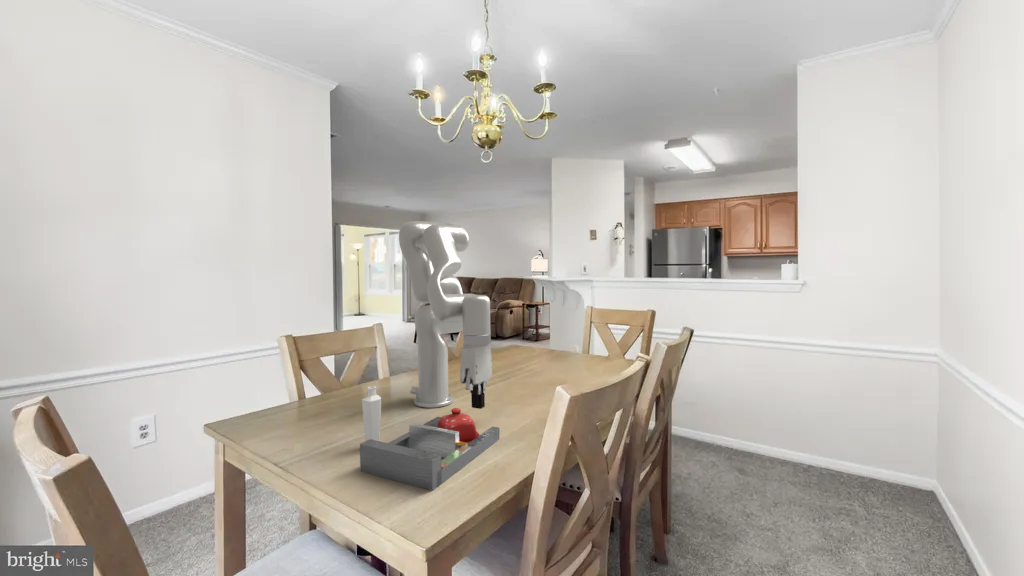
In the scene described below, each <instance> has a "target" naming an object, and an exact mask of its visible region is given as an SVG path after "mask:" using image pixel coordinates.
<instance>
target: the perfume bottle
mask: <svg viewBox="0 0 1024 576" xmlns="http://www.w3.org/2000/svg"><path fill="white" fill-rule="evenodd" d="M366 389H367V395H366V396H365V397H363V398H362V399H361V409H362V417H363V427H364V438H365V441H367V440H369V439H372V440H376V441H380V438H381V437H380V433H381V416H382V415H381V414H382V412H381V411H382V397H381V395H378V394H377V386H376V385H370V386H368V387H367V388H366Z"/></svg>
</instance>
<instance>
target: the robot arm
mask: <svg viewBox="0 0 1024 576" xmlns="http://www.w3.org/2000/svg"><path fill="white" fill-rule="evenodd" d="M398 241H399V244H398V245H399V248H400V250H401V253H402V256H403V258H404V259H405V262H406V264H407V267H408V271H409V272H408V273H409V276H410V283H411V285H412V287H411V288H412V291H413V296H414V298H415V300H416V301H417V302H418V303H422V304H428V305H423V306H421V307H419V308H418V309H417V310H416V311H415V313H414V325H415V326H414V327H415V330H416V338H417V359H418V360H417V362H418V365H417V366H418V367H417V370H418V372H417V373H418V374H417V375H418V377H417V379H418V386H417V385H416V386H415V385H413V386H411V389H410V390H409V393H410V394H413V395H414V394H415V397H414V398H413V404H414V405H415V406H417V407H420V408H427V409H428V408H430V409H432V408H433V409H434V408H441V407H446V406H448V405H451V404H452V403H453V402H454V397H453V395H452V394H449V349H448V346H447V343H446V341H445V340H444V339H443V338H442V336H441V335H444V334H451V333H459V332H460V333H461V332H462V345H463V346H462V350H461V356H460V366H459V377H460V378H459V380H460V383H461V384H465V390H467V391H469V392H470V394H471V395H470V396H471V408H472V409H481V410H482V409H484V408H485V406H486V405H485V403H486V400H485V392H486V385H487V384H488V383H489V382H490V379H491V378H492V376H493V360H492V358H493V357H492V351H491V345H492V344H491V343H492V342H491V341H492V339H491V337H492V335H491V334H492V333H491V300H490V297H489V296H487V295H484V294H475V293H463V289H462V285H461V282H460V280H459V279H458V277H456V276H455V274H456V273H458V272H459V270H460V269H461V267H462V261H461V259H460V256H459V253H460V252H464V251H465V250H467V248H468V247H469V243H470V237H469V234H468V231H467V230H466V228H465V227H463V226H462V225H458V224H453V223H449V222H440V221H439V222H438V221H426V220H425V221H424V220H423V221H421V220H412V221H407V222H404V223H403V224H402V225H401V227H400V229H399V233H398ZM424 248H426V251H425V250H424ZM458 252H459V253H458Z"/></svg>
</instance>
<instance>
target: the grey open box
mask: <svg viewBox="0 0 1024 576" xmlns="http://www.w3.org/2000/svg"><path fill="white" fill-rule="evenodd" d="M441 417H442V416H436V417H435V418H433V419H431V420H429V421H427V422H425V423H424V424H422V425H427V426H432V427H437V425H438V421H439V419H440V418H441ZM499 440H500V427H498V426H491V427H489V428H488V429H487V430H485V431H484V432H482V433H481V434H480V435H479V436H478V437H477V438H475V439H474V440H472V441H471V442H469V443H468V445H467V446H466V447H465V446H459V449H457V450H456V451H454V452H453V453H452V454H450V455H449V456H447V457H446V458H444V457H443V458H442V457H441V455H439V454H434V453H430V452H425V451H421V450H416V449H412V448H409V431H408V432H406V433H405V434H402V435H401V436H399V437H396V438H395V439H393V440H391V441H389V442H385V441H381V440H379V441H376V440H372V439H369V440H367V441H366V440H365V441H363V442H361V443H360V444H359V460H360V461H359V462H360V465H359V469H360V472H362V473H365V474H369V475H372V476H375V477H379V478H384V479H388V480H392V481H395V482H398V483H402V484H406V485H411V486H413V487H418V488H421V489H426V490H428V491H431V492H433V491H434V490H436V489H437V488H439V486H441V485H442V484H444V483H445V482H446V481H448V480H449V479H450V478H451V477H452V476H454V475H455V474H456V473H458V472H459V471H461V469H463V468H465V466H467V465H468V464H469V463H471V462H472V461H473V460H475V459H476V458H477V457H478V456H480V455H481V454H483V453H484V452H485V451H486V450H487V449H489V448H490V447H491V446H493V445H494V444H495V443H496V442H498V441H499Z"/></svg>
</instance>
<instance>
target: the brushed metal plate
mask: <svg viewBox="0 0 1024 576" xmlns="http://www.w3.org/2000/svg"><path fill="white" fill-rule="evenodd" d="M408 429H409V430H408V432H409V448H412V449H416V450H421V451H425V452H430V453H434V454H439V455H441V458H443V459H444V458H446V457H447V456H449V455H450V454H452V453H453V452H454V451H456V450H457V449H459V448H460V447H462V446H465V447H466V446H467V445H468V443H466V442H461V441H459V432H458V431H453V430H448V429H443V428H437V427H432V426H427V425H423V424H421V423H415V422H413V423H410V424H408ZM459 445H460V446H459Z"/></svg>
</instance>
